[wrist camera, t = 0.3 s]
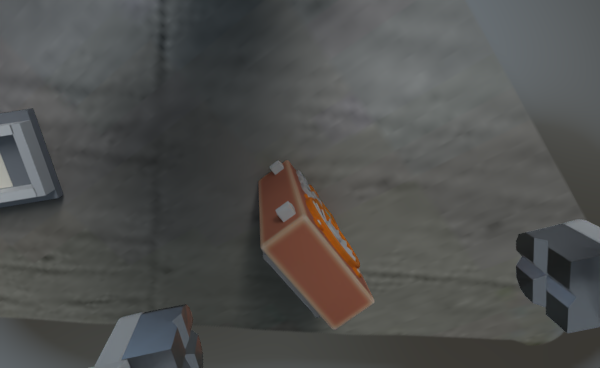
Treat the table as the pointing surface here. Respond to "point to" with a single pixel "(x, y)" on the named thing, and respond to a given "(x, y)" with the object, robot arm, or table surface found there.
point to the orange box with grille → (309, 247)
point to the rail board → (25, 161)
